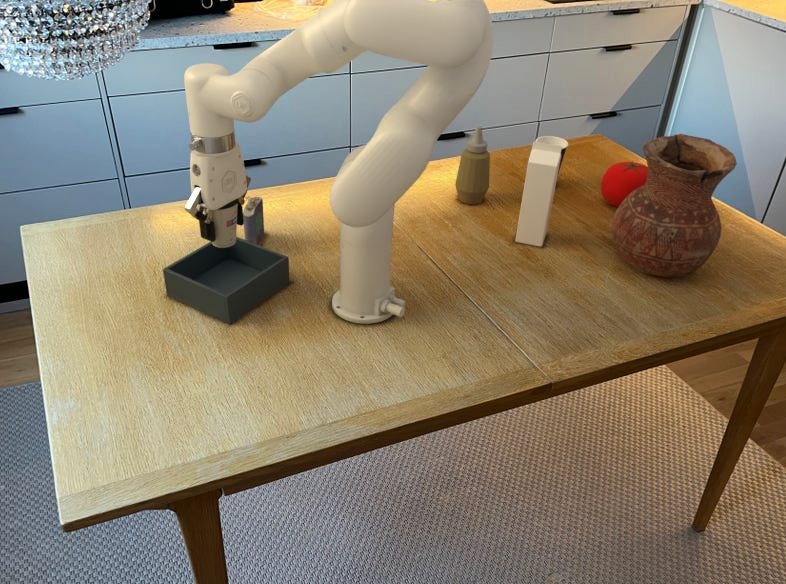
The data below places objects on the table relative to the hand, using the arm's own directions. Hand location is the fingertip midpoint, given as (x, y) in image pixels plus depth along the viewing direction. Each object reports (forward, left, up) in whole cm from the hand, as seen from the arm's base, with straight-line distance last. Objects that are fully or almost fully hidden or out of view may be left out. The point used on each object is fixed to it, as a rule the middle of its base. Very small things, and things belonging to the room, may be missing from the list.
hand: (222, 230), depth 142 cm
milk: (-40, -55, -13) cm, 69 cm away
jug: (-66, -62, -13) cm, 92 cm away
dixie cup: (-31, -83, -13) cm, 90 cm away
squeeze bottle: (-20, -64, -13) cm, 68 cm away
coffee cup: (0, 0, -3) cm, 3 cm away
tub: (0, 0, -13) cm, 13 cm away
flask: (+8, -17, -13) cm, 23 cm away
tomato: (-51, -84, -13) cm, 99 cm away
